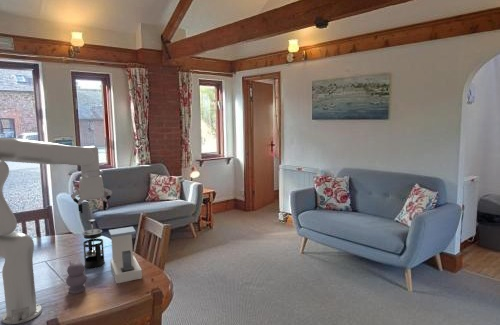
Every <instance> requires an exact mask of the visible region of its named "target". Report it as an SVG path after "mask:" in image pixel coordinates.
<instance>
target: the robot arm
mask: <svg viewBox="0 0 500 325" xmlns="http://www.w3.org/2000/svg"><path fill="white" fill-rule="evenodd" d="M99 158H100V157H99V148H98V147H97V146H95V145H89V146H88V145H86V146H75V145H66V144H60V143H54V142H47V141H39V140H30V139H23V138H14V137H13V138H8V137H5V138H4V137H1V138H0V258H4V264H3V266H2V270H1V272H2V273H1V274H2V275H1V276H2V282H3V283H2V284H3V292H4V300H5V312H4V313H3V314H2V316H1V322H2V323H4V324H6V325H19V324H23V323H27V322H28V321H31V320H33V319H35V318H37V317H38V316H39V315H40V314H41V313H42V310H43V308H42V306H41V304H38V303H37V295H36V294H37V293H36V284H35V275H34V274H35V273H34V264H33V263H34V262H33V259H34V258H33V257H34V250H35V243H34V240H33V238H32V237H31V236H29V234H27V233H24V232H19V231H16V228H17V226H18V221H17V218H16V216H15V214H14V213H13V211H12V209H11V208H10V206H9V203H8V202H7V200H6V198H5V196H4V193H3V188H4V185H5V183H6V181H7V179H8V177H9V175H10V174H9V173H10V168H9V165H8V163H7V162H13V163H14V162H15V163H23V164H24V163H25V164H26V163H27V164H38V165H68V166H69V165H70V166H80V172H81V173H80V175H81V176H80V177H79V179H78V180H79V182H78V188H79V189H78V190H76V191H75V192H73V193H72V194H70V197H71V199H72V201H74V203H76V204H77V205H78V212H80V214H83V204H82V203H83V201H88V200H96V199H102V200H103V201H102V207H103V211H107V209H108V203H107V202H108V200H109V199H111V196H112V194H113V191H112V190H111V189H108V188H106V187H104V181H103V176H102V175H101V174H104V170H103V169H102V170H100V159H99ZM105 193H107V195H106V196H105ZM78 195H79V199H78V198H76V196H78Z"/></svg>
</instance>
